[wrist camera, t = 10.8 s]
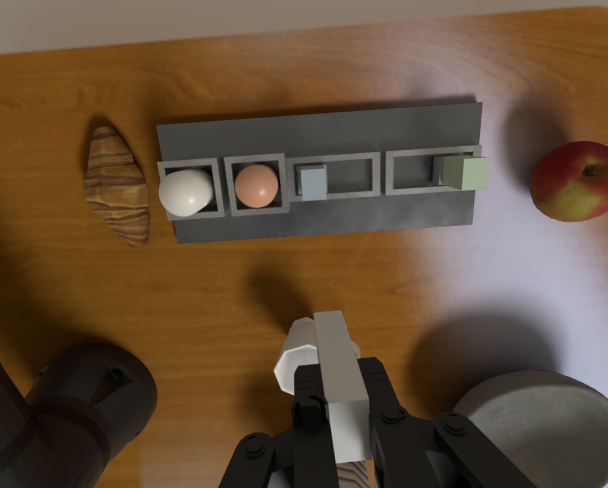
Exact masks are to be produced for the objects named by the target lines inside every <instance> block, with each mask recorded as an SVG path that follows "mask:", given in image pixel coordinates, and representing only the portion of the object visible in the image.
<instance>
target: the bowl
mask: <svg viewBox="0 0 608 488" xmlns="http://www.w3.org/2000/svg"><path fill="white" fill-rule="evenodd" d="M452 412H457V413H459V414H462V415H464V416H466V417H467V418H468V419H469V420H471V421H472V422H473V423H474V424H475V425H476V426H477V427H478V428H479V429H480V430H481V431H482V432H483V433H484V434H485V435H486V436H487V437H488V438H489V439H490V440H491V441H492V442H493V443H494V444H495V445H496V446H497V447H498V448H499V449H500V450H501V451H502V452H503V453H504V454H505V455H506V456H507V457H508V458H509V459H510V460H511V461H512V462H513V463H514V464H515V466H516V467H517V468H518V469H519V470H520V471H521V472H522V473H523V474H524V475H525V476H526V477H527V478H528V479H529V480H530V481H531V482H532V483H533V484H534V485H535V486H536V487H537V488H603V487H604V486H605V485H606V484H607V483H608V399H607V398H606V397H605V396H604V395H603V394H601V393H600V392H598V391H597V390H595V389H593V388H592V387H590V386H588V385H586V384H584V383H582V382H580V381H578V380H575V379H573V378H571V377H568V376H565V375H562V374H558V373H554V372H548V371H541V370H523V371H517V372H511V373H506V374H502V375H498V376H495V377H492V378H489V379H487V380H485V381H483V382H481V383H480V384H478V385H476V386H475V387H474V388H472V389H471V390H469V391H468V392H467V393H466V394H465V395H464V396H463V397H462V398H461V399H460V400H459V402H458V403H457V404H456V406H455V407H454V409H453V410H452Z"/></svg>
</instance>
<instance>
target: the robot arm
mask: <svg viewBox="0 0 608 488" xmlns="http://www.w3.org/2000/svg"><path fill="white" fill-rule="evenodd" d="M314 324H315V335H316V346H317V357H318V364H309V365H299V366H298V367H297V369H296V370H295V372H294V401H293V402H292V406H291V412H292V420H293V423H292V425H291V427H290V428H289V429H288V430H287V431H285V432H284V433H282V434H280V435H278V436H276V437H273V438H272V437H270V436H269V435H268V434H266V433H262V432H256V433H252V434H249V435H247V436H245V437H244V438H243V439H242V440H241V441H240V442H239V443H238V445H237V447H236V449H235V451H234V453H233V456H232V458H231V460H230V462H229V465H228V467H227V469H226V471H225V474H224V476H223V478H222V480H221V483H220V485H219V487H218V488H340V487H339V480H338V473H337V466H336V463H344V462H354V461H363V460H372V459H371V452H372V456H373V459H374V469H375V488H537V487H536V486H535V485H534V484H533V483H532V482H531V481H530V480H529V479H528V478H527V477H526V476H525V475H524V474H523V473H522V472H521V471H520V470H519V469H518V468H517V467H516V466H515V464H514V463H513V462H512V461H511V460H510V459H509V458H508V457H507V456H506V455H505V454H504V453H503V452H502V451H501V450H500V449H499V448H498V447H497V446H496V445H495V444H494V443H493V442H492V441H491V440H490V439H489V438H488V437H487V436H486V435H485V434H484V433H483V432H482V431H481V430H480V429H479V428H478V427H477V426H476V425H475V424H474V423H473V422H472V421H471V420H469V419H468V418H467V417H466V416H464V415H462V414H459V413H457V412H451V411H446V412H441V413H439V414H438V415H436V417H435V419H434V421H431V420H425V419H420V418H416V417H414V416H412V415H410V414H409V413H408V412H407V411H406V409H405V408H403V407H402V406H401V405H400V404H399V401H398V399H397V397H396V394H395V392H394V390H393V387H392V385H391V382H390V380H389V378H388V375H387V373H386V371H385V368H384V366H383V364H382V363H381V362H380V361H379V360H378V359H377V358H376V357H370V358H360V359H356V356H355V353H354V349H353V346H352V343H351V340H350V337H349V333H348V330H347V327H346V324H345V321H344V317H343V314H342V311H341V310H337V311H327V312H317V313H314ZM156 404H157V390H156V386H155V383H154V380H153V378H152V376H151V375H150V373H149V372H148V370H147V369H146V368H145V367H144V366H143V365H142V364H141V363H140V362H139V361H138V360H137V359H136V358H134V357H133V356H131V355H130V354H128V353H126V352H124V351H122V350H120V349H118V348H115V347H112V346H108V345H103V344H93V343H90V344H80V345H76V346H72V347H70V348H67V349H65V350H64V351H62V352H60V353H59V354H58V355H57V356H56V357H54V358H53V359H52V360H51V361H50V362H49V363H48V364H46V365H45V366H44V368H43V369H42V370H41V371H40V372H39V374H38V376H37V377H36V379H35V382H34V384H33V387H32V389H31V390H30V391H29V393H28V394H27V396H26V397H25V399H24V398H23V396H22V395H21V393H20V392H19V390H18V389H17V387H16V386H15V384H14V383H13V382H12V380H11V379H10V377H9V376H8V374H7V373H6V371H5V369H4V368H3V366H2V365H1V363H0V488H93V487H94V486H95V484H96V482H97V481H98V479H99V477H100V475H101V474H102V472H103V471H104V469H105V467H106V466H107V464H108V462H109V461H110V460H111V459H112V458H114V457H115V456H116V455H117V454H118V453H119V452H120V451H121V450H122V449H123V447H124V446H125V445H126V444H127V443H128V442H130V441H131V440H133V439H134V438H135V437H137V436H138V435H139V434H140V433H141V432H142V430H143V429H144V428H145V426H146V425H147V423H148V421H149V420H150V418H151V416H152V414H153V412H154V410H155V408H156Z"/></svg>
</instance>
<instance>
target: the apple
mask: <svg viewBox="0 0 608 488" xmlns="http://www.w3.org/2000/svg"><path fill="white" fill-rule="evenodd" d="M529 185H530V193H531V197H532V200H533V203H534V204H535V206H536V207H537V209H538V210H540V211H541V212H542V213H543V214H545V215H546V216H548V217H550V218H552V219H555V220H559V221H563V222H578V221H584V220H588V219H591V218H595V217H597V216H600V215H602V214H604V213H606V212H607V211H608V147H607V146H605V145H603V144H600V143H595V142H589V141H577V142H571V143H568V144H565V145H563V146H561V147H558V148H556V149H554V150H553V151H551V152H549V153H548V154H547V155H545V156H544V157H543V158H542V159H541V160H540V161H539V162H538V163H537V164H536V166H535V167H534V169H533V171H532V173H531V176H530V183H529Z"/></svg>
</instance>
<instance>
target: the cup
mask: <svg viewBox="0 0 608 488" xmlns="http://www.w3.org/2000/svg"><path fill="white" fill-rule="evenodd" d="M351 343H352V346H353V349H354V351H355V352H356V354H357V359H360V356H361V352H360V348H359V347H358V346H357V344H356V343H354V342H352V341H351ZM309 364H318V357H317V346H316V335H315V324H314V320H313V319H311V318H308V317H305V318H301V319H298V320H295V321H294V322H293V324H292V326H291V328H290V329H289V334H288V336H287V338H286V340H285V342H284V343H283V345H282V348H281V351H280V354H279V357H278V359H277V362H276V365H275V367H274V370H273V371H274V373H275V376H276V378H277V380H278V383H279V385H280V387H281V390H282V391H285V392H287V393H289V394H292V395H294V372H295V370H296V369H297V367H298V366H299V365H309Z"/></svg>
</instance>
